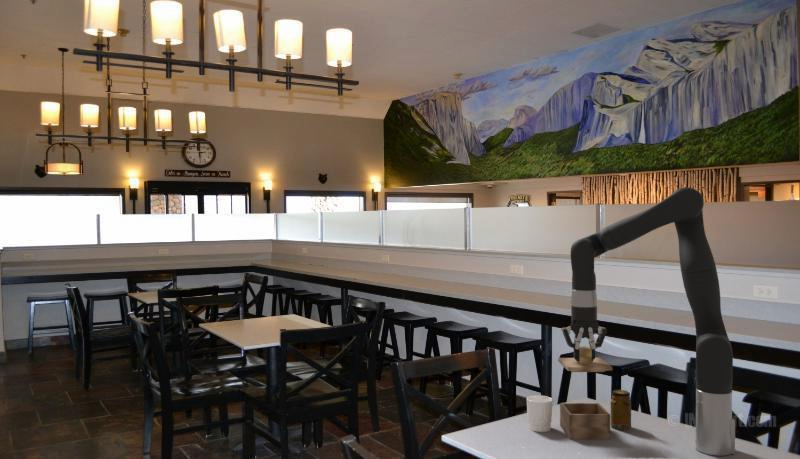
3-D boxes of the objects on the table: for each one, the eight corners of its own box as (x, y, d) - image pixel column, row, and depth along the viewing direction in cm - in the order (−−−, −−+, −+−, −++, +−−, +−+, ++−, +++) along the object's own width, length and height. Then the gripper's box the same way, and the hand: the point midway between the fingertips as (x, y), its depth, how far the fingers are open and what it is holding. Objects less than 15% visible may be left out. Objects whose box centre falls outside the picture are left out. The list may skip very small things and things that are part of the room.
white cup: (557, 432, 200) (557, 400, 200) (535, 436, 197) (535, 403, 197) (542, 425, 207) (542, 394, 207) (521, 428, 205) (521, 396, 204)
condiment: (617, 425, 207) (617, 387, 207) (642, 431, 201) (642, 393, 201) (604, 429, 203) (604, 391, 203) (629, 436, 196) (629, 397, 196)
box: (598, 428, 204) (598, 403, 204) (610, 441, 192) (610, 414, 192) (560, 428, 204) (560, 403, 204) (569, 441, 192) (569, 414, 192)
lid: (599, 363, 204) (599, 343, 204) (612, 373, 191) (612, 351, 191) (558, 363, 204) (557, 343, 204) (568, 373, 191) (567, 352, 191)
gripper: (563, 306, 194) (563, 364, 194) (611, 305, 193) (611, 363, 194) (557, 303, 201) (558, 358, 202) (603, 302, 201) (604, 358, 201)
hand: (584, 360), depth 198 cm, fingers closed on lid, 3 cm apart
